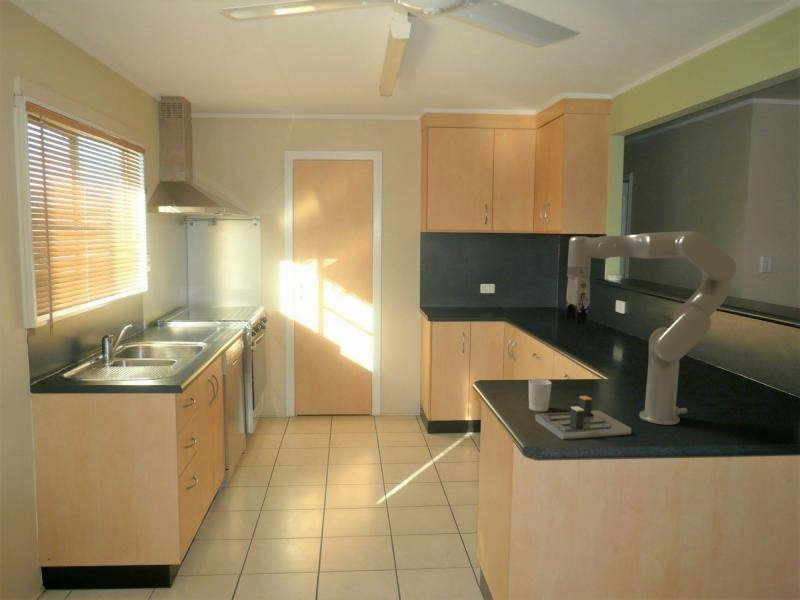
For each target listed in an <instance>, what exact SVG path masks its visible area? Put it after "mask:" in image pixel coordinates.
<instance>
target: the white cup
mask: <svg viewBox="0 0 800 600" xmlns="http://www.w3.org/2000/svg"><path fill="white" fill-rule="evenodd" d="M551 390H552V382H551V381H550V380H549V379H543V378H531V379H528V409H529V410H531V411H534V412H541V413H542V412H543V413H545V412H548V411H549V406H550V398H551Z"/></svg>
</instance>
